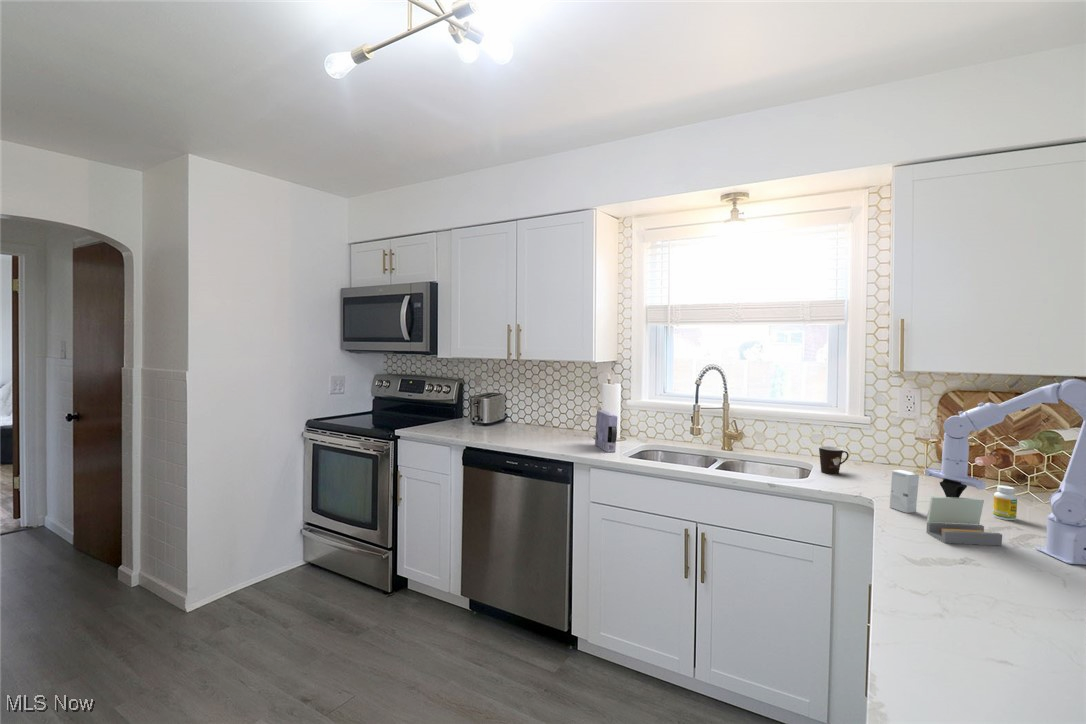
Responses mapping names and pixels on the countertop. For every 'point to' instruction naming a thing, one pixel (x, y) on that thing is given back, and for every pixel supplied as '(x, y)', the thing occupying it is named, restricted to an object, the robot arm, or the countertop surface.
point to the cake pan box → (606, 431)
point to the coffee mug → (831, 459)
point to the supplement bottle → (1005, 503)
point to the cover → (955, 510)
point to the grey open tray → (963, 534)
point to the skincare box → (904, 491)
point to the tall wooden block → (962, 530)
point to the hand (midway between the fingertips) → (952, 507)
